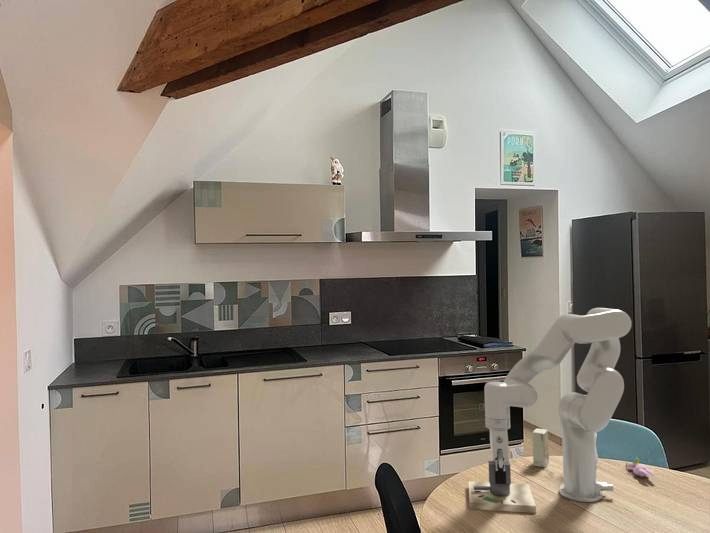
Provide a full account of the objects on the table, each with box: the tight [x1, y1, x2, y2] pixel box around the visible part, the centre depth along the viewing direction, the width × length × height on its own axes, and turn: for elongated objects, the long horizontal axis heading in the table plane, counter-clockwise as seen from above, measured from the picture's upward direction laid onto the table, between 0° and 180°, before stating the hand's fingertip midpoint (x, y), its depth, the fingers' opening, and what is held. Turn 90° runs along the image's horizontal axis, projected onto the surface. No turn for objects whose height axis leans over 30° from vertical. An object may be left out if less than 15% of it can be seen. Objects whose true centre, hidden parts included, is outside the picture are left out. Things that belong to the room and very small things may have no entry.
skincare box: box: [531, 428, 550, 468], centre depth 190 cm, size 6×4×12 cm
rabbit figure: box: [624, 457, 655, 478], centre depth 177 cm, size 6×6×15 cm
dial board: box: [468, 480, 537, 514], centre depth 161 cm, size 19×16×2 cm
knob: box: [474, 460, 512, 496], centre depth 162 cm, size 11×6×9 cm, turn 79°
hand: (499, 477), depth 162 cm, fingers open, 9 cm apart
